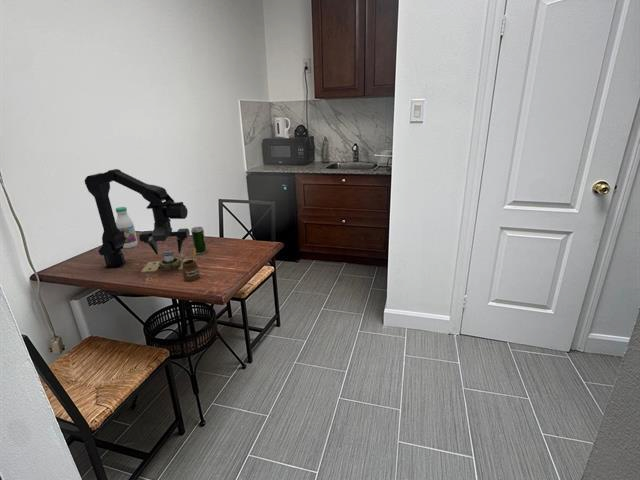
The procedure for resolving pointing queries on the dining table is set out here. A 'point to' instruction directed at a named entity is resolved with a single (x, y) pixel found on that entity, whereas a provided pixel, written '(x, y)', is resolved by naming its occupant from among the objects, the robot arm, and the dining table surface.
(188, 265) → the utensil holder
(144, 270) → the octagon ring with plates
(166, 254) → the steel pin
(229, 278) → the dining table surface
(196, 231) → the beer can
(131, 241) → the milk bottle
